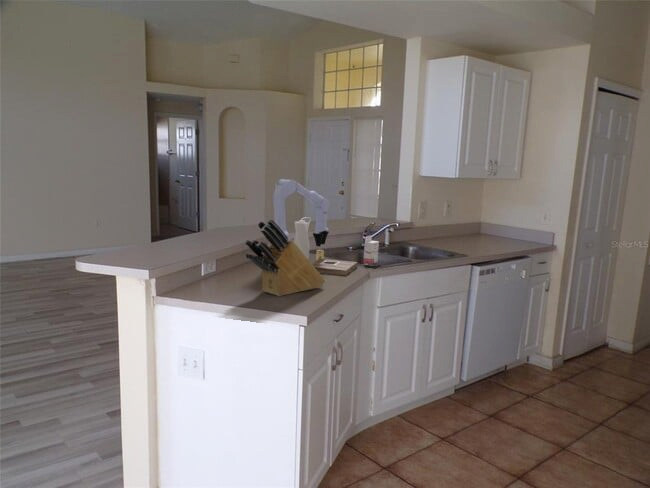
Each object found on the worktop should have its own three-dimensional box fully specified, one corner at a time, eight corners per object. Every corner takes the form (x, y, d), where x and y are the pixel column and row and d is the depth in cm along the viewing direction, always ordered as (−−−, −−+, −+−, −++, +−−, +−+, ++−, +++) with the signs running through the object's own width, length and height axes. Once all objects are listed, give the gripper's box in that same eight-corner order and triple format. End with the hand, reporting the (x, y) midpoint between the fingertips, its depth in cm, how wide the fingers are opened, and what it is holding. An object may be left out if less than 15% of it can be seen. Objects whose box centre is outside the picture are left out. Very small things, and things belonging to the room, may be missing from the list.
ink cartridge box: (371, 264, 268) (372, 237, 266) (363, 263, 270) (364, 236, 268) (378, 262, 275) (379, 235, 273) (369, 260, 278) (371, 234, 275)
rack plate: (345, 275, 239) (346, 270, 239) (306, 271, 245) (306, 265, 244) (356, 267, 260) (357, 261, 259) (320, 263, 266) (320, 258, 265)
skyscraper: (305, 274, 239) (307, 216, 234) (311, 278, 231) (313, 218, 227) (288, 275, 236) (290, 216, 231) (294, 278, 228) (295, 218, 224)
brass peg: (322, 262, 268) (322, 251, 268) (315, 261, 270) (315, 250, 269) (324, 261, 272) (324, 250, 271) (317, 260, 273) (318, 249, 272)
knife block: (242, 295, 198) (242, 217, 193) (307, 282, 222) (310, 213, 217) (259, 301, 190) (260, 220, 185) (325, 287, 214) (328, 216, 209)
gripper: (324, 222, 259) (323, 247, 262) (332, 219, 273) (331, 243, 275) (311, 221, 261) (310, 246, 264) (320, 218, 275) (319, 242, 277)
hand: (320, 245), depth 270 cm, fingers open, 7 cm apart
